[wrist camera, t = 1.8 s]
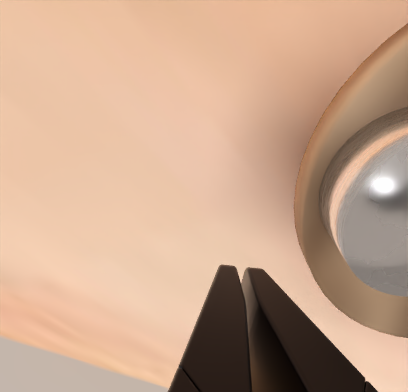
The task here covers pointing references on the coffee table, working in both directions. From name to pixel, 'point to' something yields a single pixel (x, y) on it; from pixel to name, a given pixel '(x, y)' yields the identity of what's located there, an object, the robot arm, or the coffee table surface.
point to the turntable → (315, 169)
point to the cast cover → (371, 202)
